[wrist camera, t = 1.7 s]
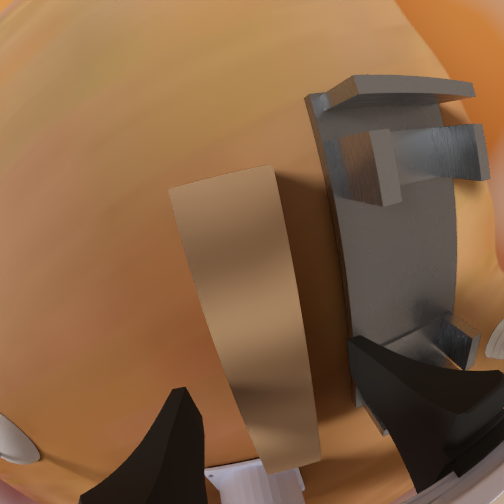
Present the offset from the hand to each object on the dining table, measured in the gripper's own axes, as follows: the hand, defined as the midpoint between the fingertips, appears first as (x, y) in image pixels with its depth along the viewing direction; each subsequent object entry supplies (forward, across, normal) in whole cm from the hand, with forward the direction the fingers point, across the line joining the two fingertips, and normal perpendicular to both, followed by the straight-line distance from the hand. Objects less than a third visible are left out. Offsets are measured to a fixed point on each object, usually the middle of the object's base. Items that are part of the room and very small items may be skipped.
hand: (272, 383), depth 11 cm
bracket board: (+5, -10, -1) cm, 11 cm away
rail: (+5, 0, 0) cm, 5 cm away
